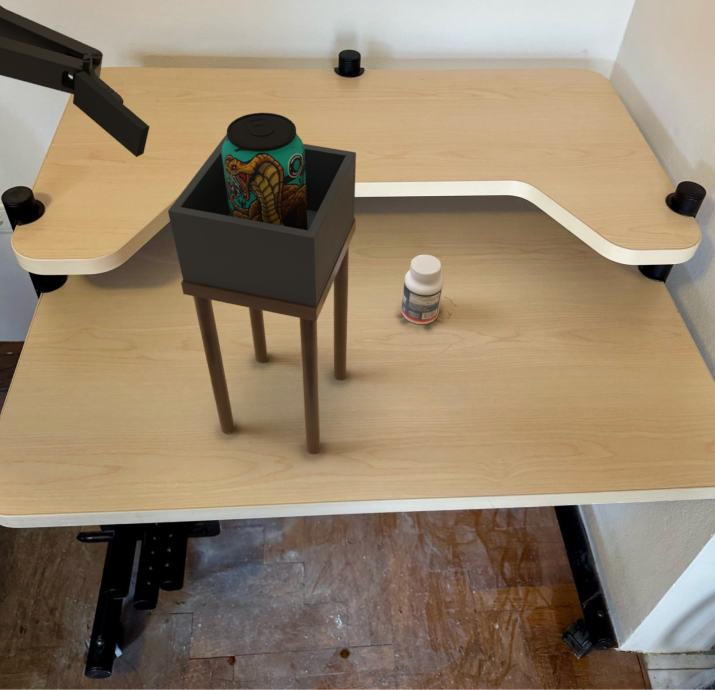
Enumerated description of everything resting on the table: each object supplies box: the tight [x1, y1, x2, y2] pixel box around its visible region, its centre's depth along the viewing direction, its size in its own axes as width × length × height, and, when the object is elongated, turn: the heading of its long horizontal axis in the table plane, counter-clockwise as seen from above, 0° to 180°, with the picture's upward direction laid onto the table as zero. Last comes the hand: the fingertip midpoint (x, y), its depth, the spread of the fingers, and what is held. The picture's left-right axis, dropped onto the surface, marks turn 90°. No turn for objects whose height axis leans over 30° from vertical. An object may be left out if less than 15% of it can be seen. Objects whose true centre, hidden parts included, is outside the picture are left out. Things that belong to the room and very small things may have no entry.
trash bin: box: [167, 133, 357, 307], centre depth 62 cm, size 13×13×8 cm
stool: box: [180, 217, 357, 455], centre depth 74 cm, size 14×13×24 cm
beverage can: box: [222, 112, 308, 230], centre depth 60 cm, size 7×7×12 cm
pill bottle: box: [401, 254, 444, 325], centre depth 91 cm, size 5×5×9 cm
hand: (71, 177), depth 46 cm, fingers open, 13 cm apart
